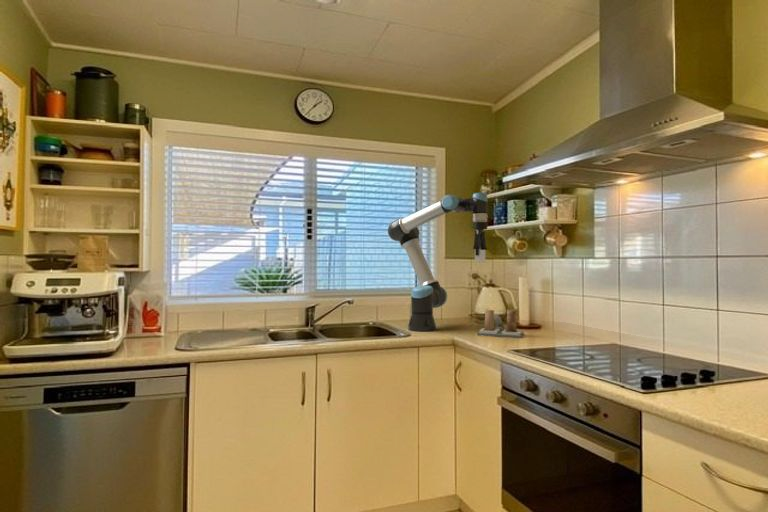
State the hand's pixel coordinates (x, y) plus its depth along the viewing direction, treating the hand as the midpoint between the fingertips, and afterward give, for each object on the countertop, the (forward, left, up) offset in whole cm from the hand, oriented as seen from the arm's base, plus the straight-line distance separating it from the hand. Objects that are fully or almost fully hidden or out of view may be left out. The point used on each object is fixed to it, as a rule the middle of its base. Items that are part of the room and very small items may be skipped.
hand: (480, 261), depth 234 cm
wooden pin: (+18, -9, -36) cm, 41 cm away
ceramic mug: (+6, +9, -37) cm, 38 cm away
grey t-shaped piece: (+12, -9, -37) cm, 40 cm away
